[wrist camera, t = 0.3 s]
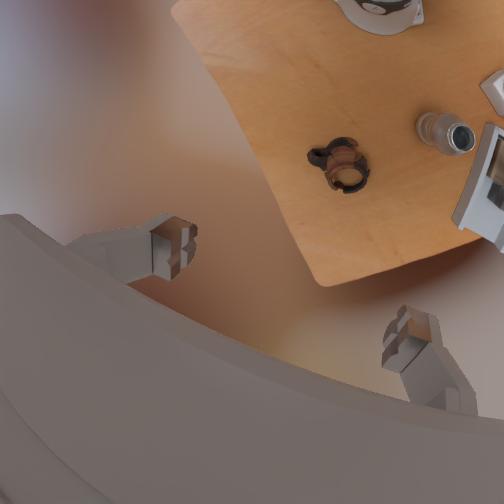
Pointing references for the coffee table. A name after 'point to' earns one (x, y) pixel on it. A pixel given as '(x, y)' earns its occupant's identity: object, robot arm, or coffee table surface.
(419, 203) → the coffee table surface
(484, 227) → the bay
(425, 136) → the plastic bottle
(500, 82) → the medicine bottle
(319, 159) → the broken clay pot
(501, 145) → the crate
